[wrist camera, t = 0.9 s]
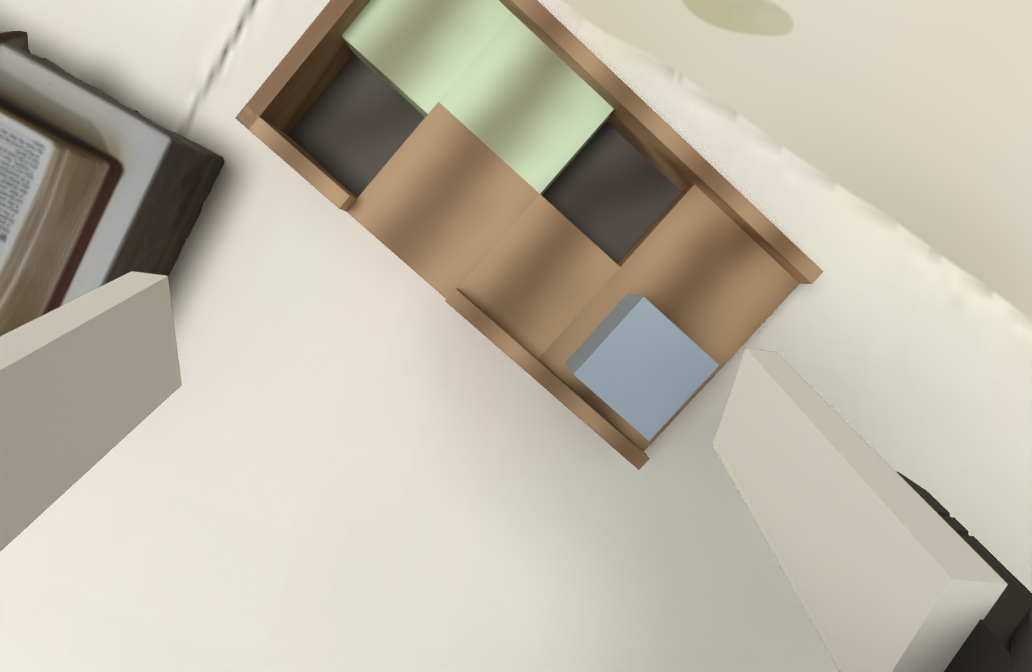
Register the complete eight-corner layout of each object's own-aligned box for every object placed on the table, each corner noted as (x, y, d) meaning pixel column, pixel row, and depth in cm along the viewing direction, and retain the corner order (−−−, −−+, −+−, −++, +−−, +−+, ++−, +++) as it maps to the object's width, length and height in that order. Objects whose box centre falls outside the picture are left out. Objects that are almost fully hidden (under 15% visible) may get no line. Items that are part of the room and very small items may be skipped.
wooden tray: (787, 272, 39) (823, 271, 35) (624, 448, 40) (638, 469, 36) (431, -63, 36) (420, -111, 32) (267, 136, 38) (235, 118, 33)
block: (693, 354, 37) (719, 365, 32) (631, 421, 37) (649, 441, 32) (626, 294, 36) (643, 296, 32) (565, 362, 36) (573, 374, 32)
